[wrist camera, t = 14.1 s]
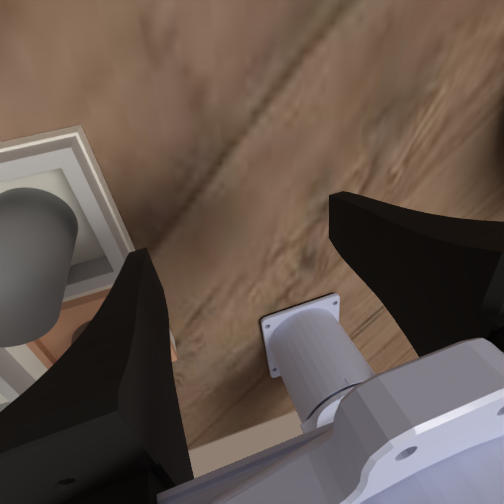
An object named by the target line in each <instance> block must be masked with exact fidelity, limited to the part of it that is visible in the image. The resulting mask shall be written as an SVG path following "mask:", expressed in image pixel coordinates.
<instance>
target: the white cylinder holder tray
mask: <svg viewBox="0 0 504 504" xmlns="http://www.w3.org/2000/svg"><path fill="white" fill-rule="evenodd" d="M133 251H136V250H135V248H134V246H133V243H132V241H131V239H130V237H129V234H128V232H127V230H126V227H125V225H124V223H123V221H122V218H121V216H120V214H119V211H118V209H117V207H116V205H115V202H114V200H113V198H112V195H111V193H110V191H109V189H108V186H107V184H106V182H105V179H104V177H103V175H102V173H101V170H100V168H99V166H98V163H97V161H96V159H95V156H94V154H93V152H92V150H91V147H90V145H89V143H88V140H87V138H86V136H85V134H84V131H83V129H82V127H81V125H77V126H73V127H68V128H63V129H59V130H54V131H50V132H45V133H40V134H36V135H31V136H27V137H22V138H17V139H13V140H8V141H4V142H0V412H1V411H2V410H3V409H4V408H5V407H7V406H8V405H9V404H10V403H11V402H13V401H14V400H15V399H16V398H17V397H18V396H20V395H21V394H22V393H23V392H24V391H26V390H27V389H28V388H29V387H30V386H31V385H32V384H33V383H35V382H36V381H37V380H38V379H39V378H40V377H41V376H42V375H43V374H44V373H45V372H46V371H47V370H48V369H49V368H50V367H51V366H52V365H53V364H54V363H55V362H56V361H57V360H58V359H59V358H60V357H61V356H62V355H63V354H64V353H65V352H66V350H67V349H68V348H69V347H70V346H71V341H72V336H73V334H74V332H75V331H76V330H77V329H78V328H79V327H80V326H81V325H83V324H84V323H86V322H88V321H91V320H92V319H93V317H94V316H95V314H96V313H97V311H98V310H99V308H100V307H101V305H102V303H103V302H104V300H105V298H106V297H107V295H108V293H109V292H110V290H111V288H112V286H113V284H114V282H115V280H116V278H117V276H118V274H119V272H120V270H121V268H122V266H123V264H124V262H125V259H126V257H127V255H128V254H129V252H133ZM169 330H170V328H169ZM170 344H171V358H172V362H174V361H177V360H178V359H177V353H176V346H175V340H174V337H173V335H172V333H171V330H170Z"/></svg>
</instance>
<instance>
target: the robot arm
mask: <svg viewBox="0 0 504 504" xmlns="http://www.w3.org/2000/svg"><path fill="white" fill-rule="evenodd" d="M329 239H330V241H331V242H332V244H333V245H334V247H335V248H336V250H337V251H338V253H339V254H340V256H341V257H342V258H343V259H344V260H345V261H346V263H347V264H348V265H349V266H350V267H351V268H352V269H353V270H354V271H355V273H356V274H357V275H358V276H359V277H360V278H361V279H362V280H363V281H364V282H365V283H366V285H367V286H368V287H369V288H370V289H371V290H372V291H373V292H374V293H375V294H376V296H377V297H378V298H379V299H380V300H381V302H382V303H383V304H384V306H385V307H386V308H387V310H388V311H389V313H390V314H391V315H392V317H393V318H394V319H395V321H396V322H397V324H398V325H399V327H400V328H401V330H402V331H403V333H404V334H405V336H406V337H407V339H408V340H409V342H410V343H411V345H412V346H413V348H414V350H415V351H416V353H417V354H418V356H419V358H417V359H414V360H412V361H409V362H407V363H404V364H402V365H399V366H397V367H394V368H392V369H389V370H387V371H384V372H381V373H379V374H375V373H374V371H373V370H372V368H371V367H370V366H369V364H368V363H367V361H366V360H365V359H364V357H363V356H362V354H361V353H360V352H359V350H358V349H357V347H356V346H355V345H354V343H353V342H352V340H351V339H350V338H349V336H348V335H347V333H346V332H345V331H344V329H343V328H342V326H341V325H340V324H339V304H340V297H339V295H338V294H337V293H334V294H331V295H328V296H325V297H322V298H319V299H316V300H313V301H310V302H307V303H304V304H301V305H298V306H296V307H293V308H290V309H287V310H284V311H281V312H278V313H275V314H272V315H269V316H266V317H264V318H263V319H262V320H261V326H262V332H263V337H264V343H265V348H266V354H267V360H268V365H269V371H270V375H271V377H272V378H276V377H278V376H281V377H282V380H283V382H284V384H285V386H286V389H287V391H288V393H289V395H290V398H291V400H292V402H293V404H294V407H295V409H296V411H297V413H298V416H299V418H300V420H301V422H302V424H301V425H300V426H301V428H302V431H303V433H304V434H302V435H300V436H297V437H295V438H292V439H290V440H288V441H285V442H283V443H280V444H278V445H275V446H273V447H271V448H268V449H266V450H263V451H261V452H258V453H256V454H253V455H251V456H249V457H246V458H244V459H242V460H239V461H237V462H234V463H232V464H229V465H227V466H224V467H222V468H219V469H217V470H215V471H212V472H210V473H207V474H205V475H203V476H200V477H198V478H195V479H194V476H193V471H192V467H191V462H190V458H189V453H188V448H187V443H186V438H185V434H184V429H183V424H182V419H181V414H180V409H179V403H178V398H177V393H176V387H175V382H174V376H173V369H172V358H171V344H170V330H169V317H168V309H167V304H166V299H165V295H164V290H163V287H162V285H161V282H160V280H159V277H158V275H157V273H156V270H155V268H154V265H153V263H152V260H151V258H150V256H149V253H148V251H147V248H143V249H140V250H136V251H133V252H129V254H128V255H127V257H126V259H125V262H124V264H123V266H122V268H121V270H120V272H119V274H118V276H117V278H116V280H115V282H114V284H113V286H112V288H111V290H110V292H109V293H108V295H107V297H106V298H105V300H104V302H103V303H102V305H101V307H100V308H99V310H98V311H97V313H96V314H95V316H94V317H93V319H92V320H91V321H90V323H89V324H88V325H87V327H86V328H85V329H84V331H83V332H82V333H81V334H80V336H79V337H78V338H77V339H76V340H75V341H74V342H73V344H72V345H71V346H70V347H69V348H68V349H67V350H66V352H65V353H64V354H63V355H62V356H61V357H60V358H59V359H58V360H57V361H56V362H55V363H54V364H53V365H52V366H51V367H50V368H49V369H48V370H47V371H46V372H45V373H44V374H43V375H42V376H41V377H40V378H39V379H38V380H37V381H36V382H35V383H33V384H32V385H31V386H30V387H29V388H28V389H27V390H26V391H24V392H23V393H22V394H21V395H20V396H18V397H17V398H16V399H15V400H14V401H13V402H11V403H10V404H9V405H8V406H7V407H5V408H4V409H3V410H2V411H1V412H0V504H504V222H497V221H481V220H471V219H461V218H453V217H446V216H441V215H435V214H429V213H424V212H419V211H415V210H411V209H407V208H403V207H399V206H395V205H392V204H388V203H385V202H381V201H378V200H375V199H371V198H368V197H364V196H361V195H357V194H354V193H350V192H344V191H342V192H339V193H335V194H332V195H329ZM266 325H267V326H266Z"/></svg>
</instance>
